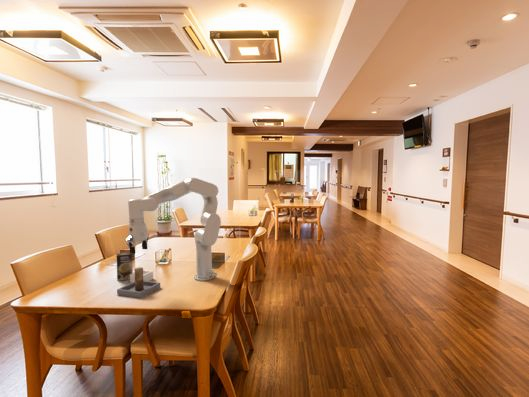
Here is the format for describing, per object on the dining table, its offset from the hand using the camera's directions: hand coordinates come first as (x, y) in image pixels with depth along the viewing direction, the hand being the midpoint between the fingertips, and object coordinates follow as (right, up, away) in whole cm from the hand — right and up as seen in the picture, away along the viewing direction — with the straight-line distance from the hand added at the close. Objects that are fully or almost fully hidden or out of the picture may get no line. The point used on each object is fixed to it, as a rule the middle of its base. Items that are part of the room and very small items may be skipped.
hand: (138, 251), depth 170 cm
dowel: (0, -22, +1) cm, 22 cm away
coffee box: (-18, -22, +23) cm, 37 cm away
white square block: (-6, -22, +19) cm, 29 cm away
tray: (0, -23, +1) cm, 23 cm away
